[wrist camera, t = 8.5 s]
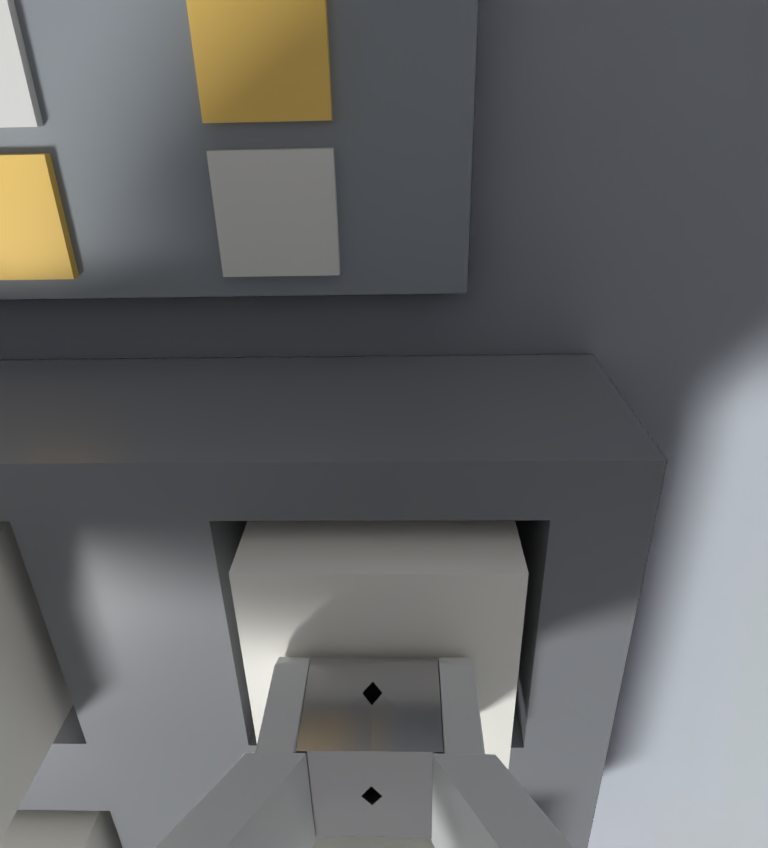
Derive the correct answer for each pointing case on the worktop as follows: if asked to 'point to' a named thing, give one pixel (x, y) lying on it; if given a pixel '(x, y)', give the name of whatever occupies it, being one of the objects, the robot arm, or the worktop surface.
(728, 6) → the worktop surface
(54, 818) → the button back left
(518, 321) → the worktop surface
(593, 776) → the button board
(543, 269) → the worktop surface
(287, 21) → the pattern card
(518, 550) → the button front right
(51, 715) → the button front left
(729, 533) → the worktop surface
